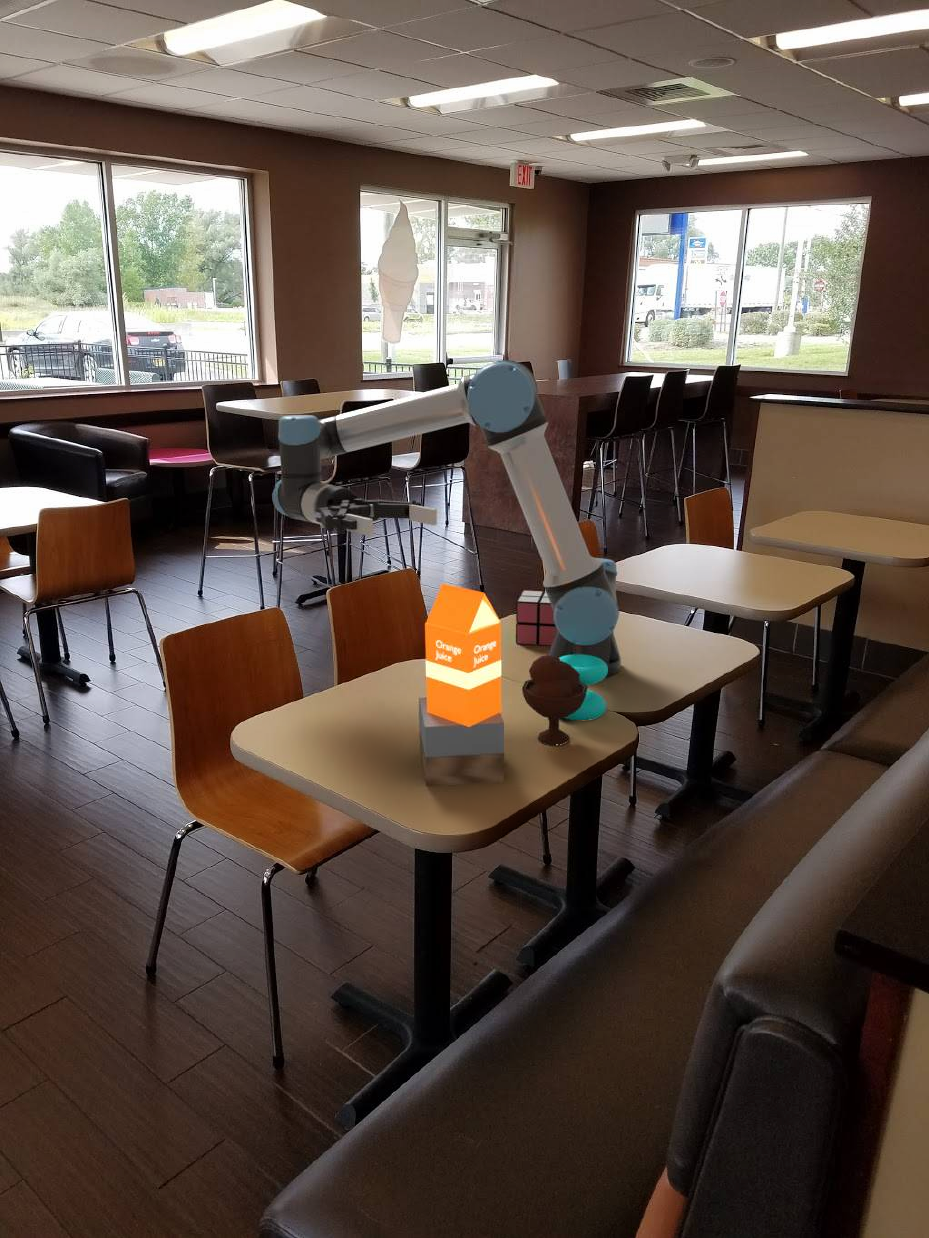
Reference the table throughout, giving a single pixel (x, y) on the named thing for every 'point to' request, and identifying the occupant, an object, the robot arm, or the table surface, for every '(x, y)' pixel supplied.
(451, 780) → the lower block
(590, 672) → the donuts
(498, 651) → the orange juice
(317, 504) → the robot arm
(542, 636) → the puzzle cube
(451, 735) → the upper block
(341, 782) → the table surface
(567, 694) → the ice cream bowl
